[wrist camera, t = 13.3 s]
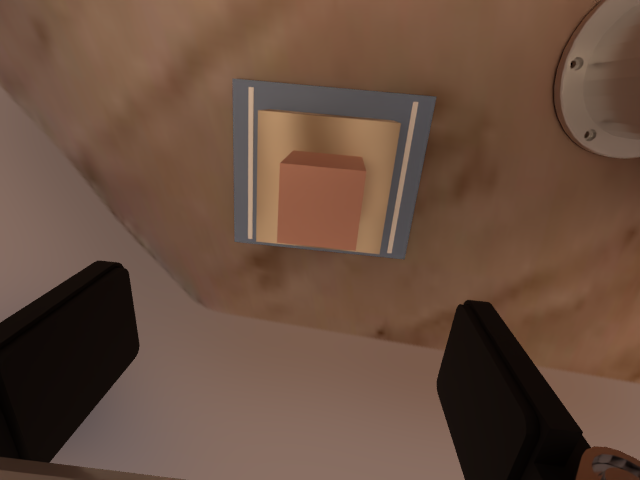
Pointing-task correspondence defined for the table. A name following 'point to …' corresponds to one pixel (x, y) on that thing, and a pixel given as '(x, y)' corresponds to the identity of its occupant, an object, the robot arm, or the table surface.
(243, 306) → the table surface
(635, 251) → the table surface
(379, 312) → the table surface
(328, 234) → the terracotta block
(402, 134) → the board
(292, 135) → the maple base block
